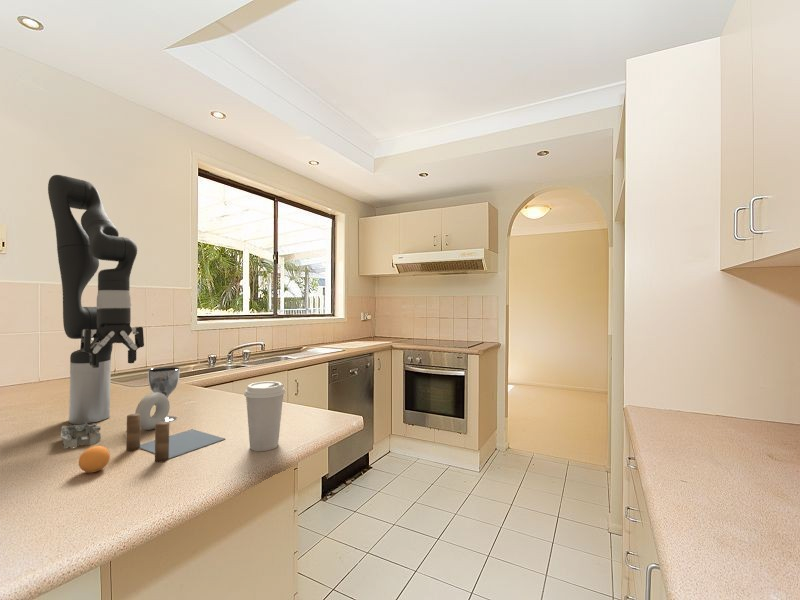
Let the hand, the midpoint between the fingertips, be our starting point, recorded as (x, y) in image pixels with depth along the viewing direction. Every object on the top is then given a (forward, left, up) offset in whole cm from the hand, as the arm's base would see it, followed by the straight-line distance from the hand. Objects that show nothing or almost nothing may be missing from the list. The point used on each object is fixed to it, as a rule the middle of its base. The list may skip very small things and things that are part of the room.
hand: (113, 365), depth 103 cm
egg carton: (+5, -9, -18) cm, 20 cm away
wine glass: (+5, +11, -17) cm, 21 cm away
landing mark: (+28, +3, -17) cm, 33 cm away
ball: (+28, -15, -15) cm, 35 cm away
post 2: (+34, -5, -17) cm, 38 cm away
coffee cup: (+47, +12, -17) cm, 51 cm away
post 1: (+22, -5, -17) cm, 28 cm away
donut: (+11, +5, -17) cm, 21 cm away
